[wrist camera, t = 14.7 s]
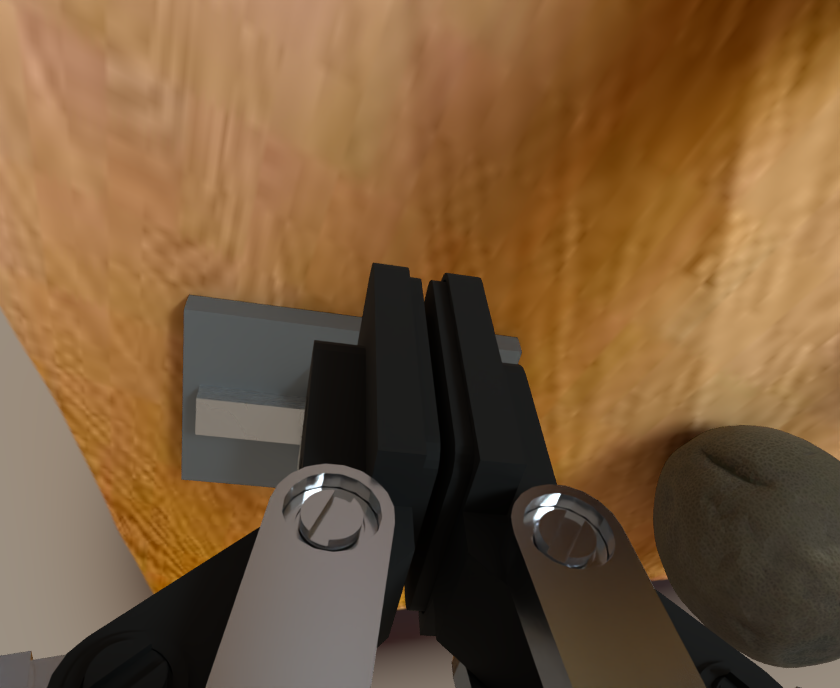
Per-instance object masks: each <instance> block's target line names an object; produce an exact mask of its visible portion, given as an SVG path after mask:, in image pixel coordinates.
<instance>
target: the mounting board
mask: <svg viewBox="0 0 840 688" xmlns="http://www.w3.org/2000/svg"><path fill="white" fill-rule="evenodd" d="M361 321H362V317H356V316H348V315H340V314H333V313H325V312H317V311H309V310H302V309H294V308H286V307H279V306H271V305H263V304H256V303H248V302H240V301H233V300H225V299H217V298H210V297H202V296H194V295H189V297H188V299H187V302H186V305H185V308H184V346H183V413H182V479H183V480H194V481H205V482H217V483H228V484H240V485H251V486H262V487H274V488H276V487H277V485H278V484H279V483H280V482H281V481H282V480H283V479H285V478H286V477H287V476H288V475H289V474H291V473H293V472H295V471H297V465H298V456H299V449H300V445H297V444H286V443H276V442H266V441H256V440H246V439H236V438H226V437H215V436H205V435H195V424H196V397H197V394H198V390H199V387H200V385H201V386H210V387H219V388H228V389H238V390H247V391H256V392H265V393H274V394H283V395H292V396H301V397H306V396H307V388H308V380H309V373H310V365H311V358H312V351H313V344H314V340H319V341H327V342H336V343H344V344H352V345H357V344H358V338H359V332H360V327H361ZM495 336H496V340H497V344H498V348H499V352H500V356H501V360H502V363H511V364H518V362H519V359H520V356H521V353H522V350H521V347H520V344H519V340H518V338H517V337H509V336H501V335H495Z"/></svg>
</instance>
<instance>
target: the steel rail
mask: <svg viewBox="0 0 840 688" xmlns="http://www.w3.org/2000/svg"><path fill="white" fill-rule="evenodd" d="M305 404H306V397H301V396H292V395H283V394H274V393H265V392H256V391H247V390H238V389H228V388H219V387H210V386H201V385H200V387H199V390H198V394H197V397H196V424H195V435H205V436H215V437H226V438H236V439H246V440H256V441H266V442H276V443H286V444H297V445H301V440H302V430H303V421H304V412H305Z"/></svg>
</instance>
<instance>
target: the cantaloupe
mask: <svg viewBox="0 0 840 688" xmlns="http://www.w3.org/2000/svg"><path fill="white" fill-rule="evenodd" d="M653 525H654V535H655V542H656V547H657V550H658V553H659V556H660V559H661V562H662V564H663V567H664V569H665V572H666V575H667V577H668V579H669V581H670V583H671V585H672V587H673V589H674V590H675V592H676V593H677V595H678V597H679V598H680V599H681V601H682V602H683V603H684V604H685V605H686V606H687V607H688V609H689V610H690V611H691V612H692V613H693V614H694V615H695V616H696V617H697V618H698V619H699V620H700V621H701V622H702V623H703V624H704V626H705V627H707V628H708V629H709V630H711V631H712V632H713V633H715V634H716V635H717V636H719V637H720V638H721V639H723V640H724V641H725V642H727V643H728V644H729V645H731V646H732V647H733V648H735V649H736V650H738V651H739V652H741V653H743V654H745V655H747V656H748V657H750V658H752V659H754V660H756V661H759V662H762V663H764V664H768V665H772V666H777V667H783V668H798V667H805V666H812V665H818V664H823V663H827V662H831V661H834V660H837V659H839V658H840V461H839V460H837V459H836V458H835V457H833V456H832V455H830V454H829V453H827V452H825V451H824V450H822V449H820V448H819V447H817V446H815V445H813V444H812V443H810V442H808V441H806V440H804V439H801V438H799V437H796V436H794V435H791V434H789V433H786V432H783V431H781V430H777V429H772V428H768V427H761V426H746V425H739V426H726V427H719V428H715V429H712V430H709V431H706V432H704V433H702V434H700V435H698V436H697V437H695V438H693V439H692V440H690V441H689V442H687V443H686V444H684V445H683V446H681V447H680V448H678V449H677V450H676V451H675V452H674V453H672V455H671V456H670V457H669V458H668V460H667V461H666V463H665V465H664V467H663V469H662V472H661V474H660V477H659V480H658V484H657V488H656V493H655V500H654V511H653Z"/></svg>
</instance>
